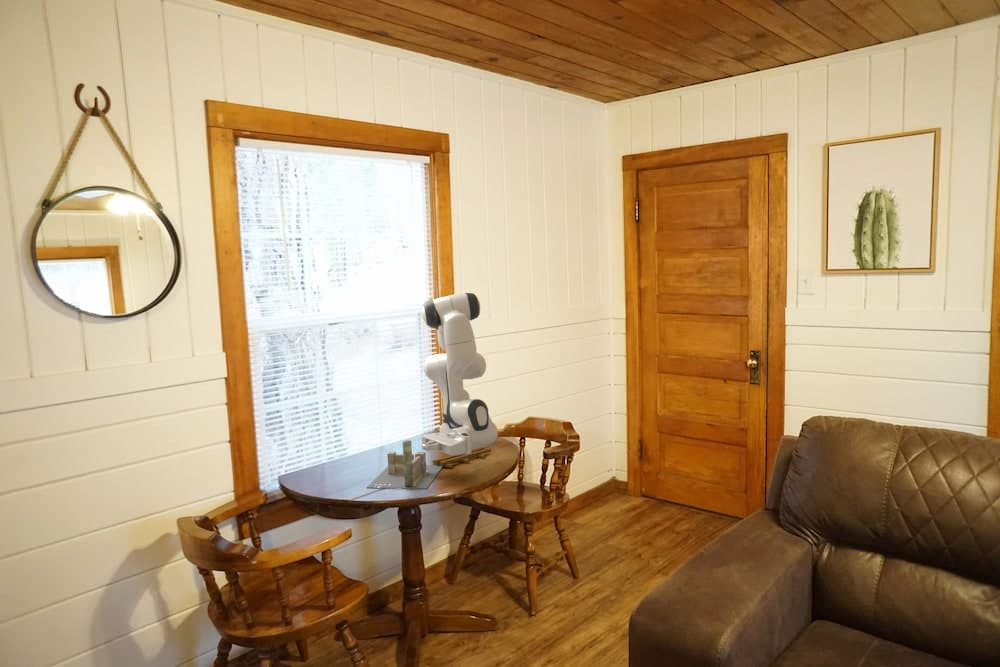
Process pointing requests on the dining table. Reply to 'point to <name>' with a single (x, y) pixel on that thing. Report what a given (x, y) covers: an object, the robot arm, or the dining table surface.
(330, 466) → the dining table surface
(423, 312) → the robot arm
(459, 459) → the decorative fence
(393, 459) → the fixed fence section
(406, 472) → the swinging fence section
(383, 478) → the board
